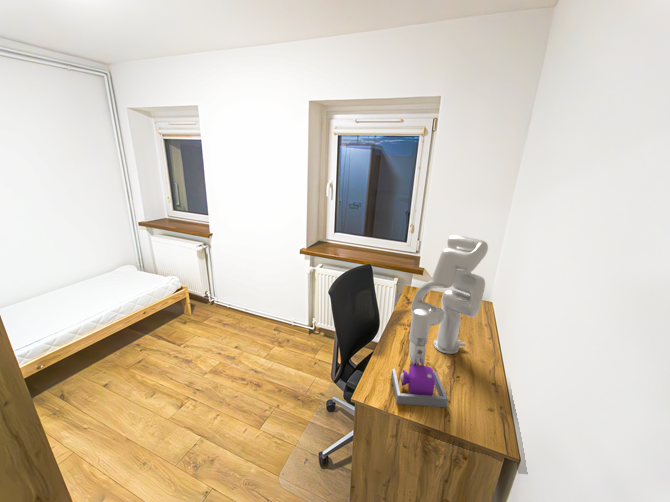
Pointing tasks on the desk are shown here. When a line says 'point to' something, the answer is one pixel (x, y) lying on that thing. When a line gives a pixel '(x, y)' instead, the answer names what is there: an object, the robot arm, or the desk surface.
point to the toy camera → (419, 380)
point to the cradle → (420, 399)
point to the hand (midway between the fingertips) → (413, 372)
